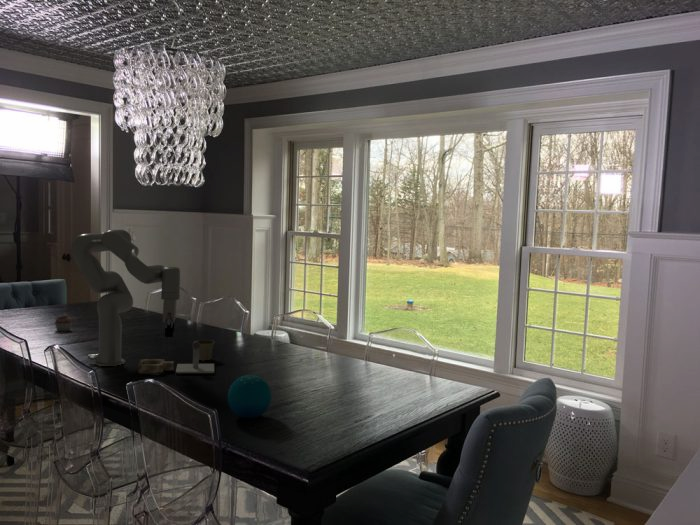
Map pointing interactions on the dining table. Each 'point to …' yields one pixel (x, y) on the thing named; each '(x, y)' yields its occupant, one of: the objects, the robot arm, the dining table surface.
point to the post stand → (195, 363)
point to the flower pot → (205, 349)
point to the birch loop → (154, 365)
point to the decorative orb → (249, 396)
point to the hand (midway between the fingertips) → (169, 334)
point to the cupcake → (63, 323)
